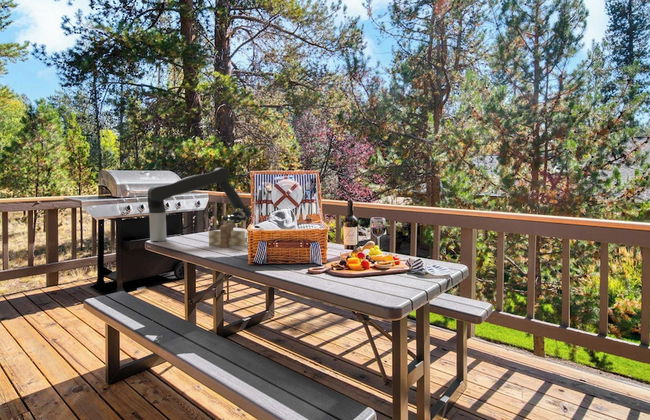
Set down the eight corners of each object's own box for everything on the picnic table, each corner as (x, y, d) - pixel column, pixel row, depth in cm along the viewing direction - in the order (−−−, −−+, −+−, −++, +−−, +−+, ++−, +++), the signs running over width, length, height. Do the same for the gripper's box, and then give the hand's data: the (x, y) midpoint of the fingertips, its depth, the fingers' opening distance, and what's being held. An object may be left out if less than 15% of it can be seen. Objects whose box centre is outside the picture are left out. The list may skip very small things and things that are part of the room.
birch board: (209, 245, 240) (208, 231, 240) (210, 244, 243) (210, 230, 242) (244, 245, 240) (243, 231, 239) (244, 244, 243) (244, 230, 242)
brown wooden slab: (228, 242, 251) (228, 222, 250) (233, 242, 251) (233, 222, 250) (220, 247, 233) (220, 226, 232) (226, 247, 233) (225, 226, 232)
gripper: (227, 210, 272) (220, 213, 255) (249, 211, 271) (244, 213, 255) (227, 222, 272) (220, 225, 256) (249, 222, 272) (244, 225, 256)
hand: (232, 219), depth 256 cm, fingers open, 8 cm apart
